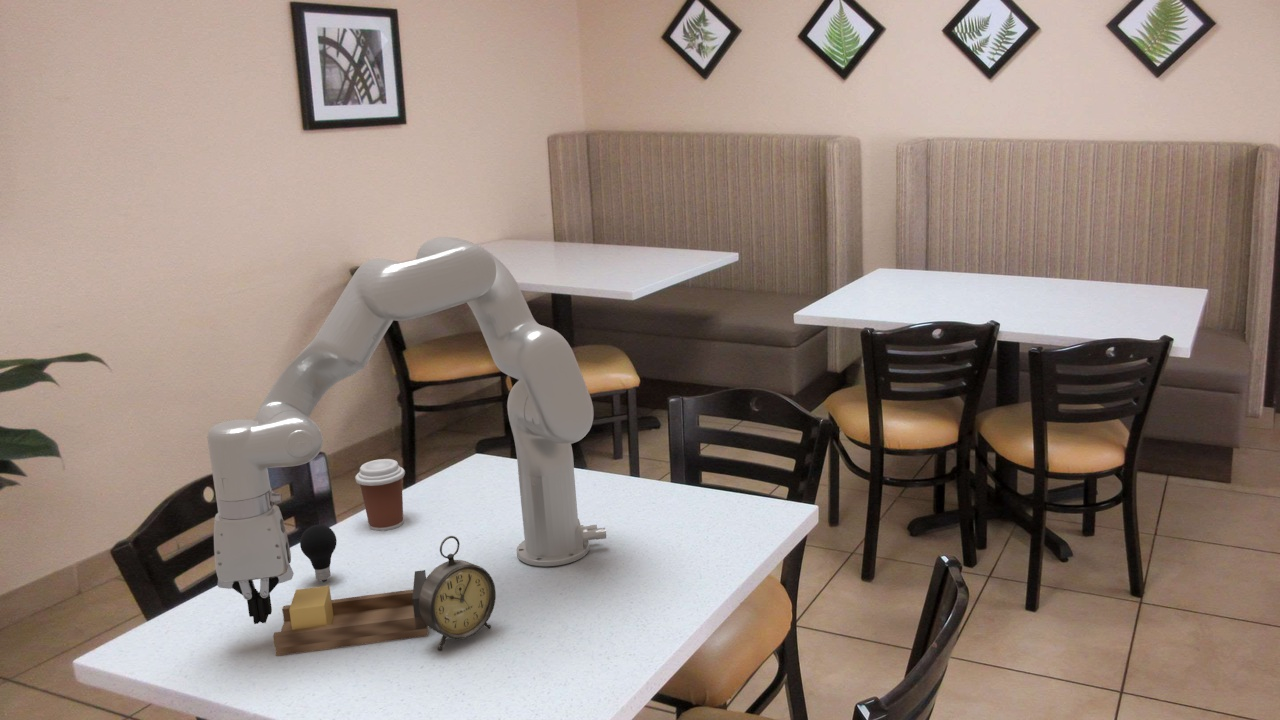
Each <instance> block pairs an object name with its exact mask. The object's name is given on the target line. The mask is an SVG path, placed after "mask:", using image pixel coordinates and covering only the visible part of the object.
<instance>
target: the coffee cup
mask: <svg viewBox="0 0 1280 720" xmlns="http://www.w3.org/2000/svg"><path fill="white" fill-rule="evenodd" d="M405 474H406V470H405V469H404V468H403V467H401V466H400V465H399V463H398V461H397V460H396V459H395V460H394V459H392V458H383V459H382V458H381V459H380V458H379V459H375V460H370V461H367V462H365V463H363V464H362V465H361V466H360V467H359V471H358V473H357V474H356V475H355V477H354V478H355V482H356V484H359V486H360V490H361V494H362V499H363V504H364V509H365V513H366V518H367V522H368V527H369V529H370V530H372V531H375V532H385V531H386V532H387V531H391V530H394V529H397V528H400V527H401V526H403V524H404V521H405V520H404V502H403V501H404V499H403V478H404V476H405Z"/></svg>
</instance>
